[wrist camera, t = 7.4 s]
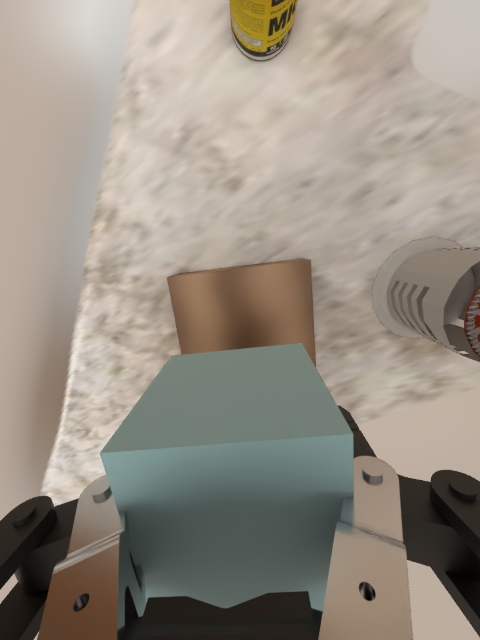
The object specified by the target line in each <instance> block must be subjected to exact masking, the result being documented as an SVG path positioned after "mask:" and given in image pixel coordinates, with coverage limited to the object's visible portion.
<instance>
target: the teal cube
mask: <svg viewBox="0 0 480 640" xmlns="http://www.w3.org/2000/svg"><path fill="white" fill-rule="evenodd" d="M100 455H101V458H102V462H103V465H104V468H105V471H106V475H107V478H108V481H109V484H110V488H111V491H112V494H113V497H114V501H115V504H116V507H117V510H118V511H121V510H125V513H126V516H127V520H128V523H129V549H130V552H131V556H132V559H133V562H134V565H141V566H142V570H143V573H144V577H145V593H146V603H147V600H148V597H172V596H188V597H191V598H194V599H197V600H200V601H203V602H206V603H209V604H212V605H215V606H218V607H221V608H230V607H232V606H235V605H238V604H240V603H243V602H245V601H248V600H250V599H253V598H256V597H258V596H261V595H263V594H266V593H274V592H299V591H308V592H309V598H310V604H311V608H313V609H316V610H320V611H322V612H323V607H324V600H325V594H326V588H327V581H328V575H329V568H330V562H331V556H332V549H333V543H334V536H335V530H336V525H337V521H338V520H339V521H340V518H341V511H342V505H343V498H344V497H350V496H354V460H353V433H352V431H351V429H350V427H349V426H348V424H347V422H346V420H345V418H344V417H343V415H342V413H341V411H340V410H339V408H338V406H337V404H336V403H335V401H334V399H333V397H332V395H331V394H330V392H329V390H328V388H327V387H326V385H325V383H324V381H323V380H322V378H321V376H320V374H319V373H318V371H317V369H316V367H315V365H314V364H313V362H312V360H311V358H310V357H309V355H308V353H307V351H306V350H305V348H304V346H303V344H302V343H295V344H285V345H275V346H265V347H255V348H245V349H235V350H225V351H215V352H205V353H195V354H185V355H175V356H171V357H170V359H169V360H168V362H167V363H166V364H165V366H164V367H163V368H162V370H161V371H160V372H159V374H158V375H157V376H156V378H155V379H154V381H153V382H152V383H151V385H150V386H149V387H148V389H147V390H146V391H145V393H144V394H143V395H142V397H141V398H140V400H139V401H138V402H137V404H136V405H135V406H134V408H133V409H132V410H131V412H130V413H129V414H128V416H127V417H126V419H125V420H124V421H123V423H122V424H121V425H120V427H119V428H118V429H117V431H116V432H115V433H114V435H113V436H112V437H111V439H110V440H109V442H108V443H107V444H106V446H105V447H104V448H103V450H102V451H101V452H100Z"/></svg>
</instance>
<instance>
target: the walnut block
mask: <svg viewBox="0 0 480 640" xmlns="http://www.w3.org/2000/svg"><path fill="white" fill-rule="evenodd" d="M167 280H168V285H169V290H170V296H171V301H172V306H173V311H174V316H175V322H176V327H177V332H178V337H179V342H180V348H181V353H182V355H185V354H195V353H205V352H215V351H225V350H235V349H245V348H255V347H265V346H275V345H285V344H295V343H302V344H303V346H304V348H305V350H306V351H307V353H308V355H309V357H310V358H311V360H312V362H313V364H314V365H315V367H316V359H315V339H314V319H313V299H312V279H311V260H308V259H294V260H286V261H277V262H269V263H261V264H253V265H244V266H236V267H228V268H220V269H212V270H203V271H195V272H187V273H179V274H175V275H172V276H169V277H167Z"/></svg>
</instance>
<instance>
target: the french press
mask: <svg viewBox="0 0 480 640" xmlns="http://www.w3.org/2000/svg"><path fill="white" fill-rule="evenodd" d="M465 249H466V250H465ZM477 249H480V248H462V247H461V246H460V245H459V244H458V243H456V242H455V241H451V240H447V239H443V238H439V237H430V238H425V239H419V240H413V241H412V242H410V243H408V244H406V245H405V246H403V247H401V248H400V249H398V250H396V251H395V252H393V253H392V255H391V256H390V257H389V258H388V259H387V260H386V262H385V263H384V264H383V265H382V266H381V268H380V269H379V271H378V274H377V277H376V279H375V282H374V285H373V288H372V298H373V309H374V311H375V313H376V315H377V317H378V319H379V321H380V322H381V324H382V325H383V326H385V327H386V328H387V329H389V330H390V331H391V332H393V333H394V334H395V335H400V336H404V337H409V338H413V339H415V338H422V337H426V338H427V339H429V340H431V341H434V342H436V343H438V344H440V345H442V346H443V345H445V346H444V347H446V348H449V349H450V350H452V351H454V352H456V353H458V354H460V355H462V356H465V357H468V358H470V359H473V360H476V361H479V362H480V250H477ZM459 319H462V320H464V328H461V327H458V326H456V325H454V324H455V323H456V322H457V321H458V320H459ZM432 336H433V337H432ZM437 340H438V341H440V342H438V341H437ZM450 345H452V346H454V347H456V348H453V347H451V346H450ZM457 351H465V352H467V353H469V354H462V353H459V352H457Z"/></svg>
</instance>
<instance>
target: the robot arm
mask: <svg viewBox="0 0 480 640" xmlns="http://www.w3.org/2000/svg"><path fill="white" fill-rule="evenodd" d="M338 408H339V410H340V411H341V413H342V415H343V417H344V418H345V420H346V422H347V424H348V426H349V427H350V429H351V431H352V433H353V460H354V496H350V497H344V498H343V505H342V511H341V518H340V521H339V520H338V521H337V525H336V530H335V536H334V543H333V549H332V556H331V562H330V568H329V575H328V581H327V588H326V594H325V600H324V607H323V612H322V611H320V610H316V609H313V608H311V604H310V598H309V592H308V591H299V592H274V593H266V594H263V595H261V596H258V597H256V598H253V599H250V600H248V601H245V602H243V603H240V604H238V605H235V606H232V607H230V608H221V607H218V606H215V605H212V604H209V603H206V602H203V601H200V600H197V599H194V598H191V597H188V596H172V597H148V600H147V603H146V593H145V577H144V573H143V570H142V566H141V565H134V562H133V559H132V556H131V552H130V549H129V523H128V520H127V516H126V513H125V510H121V511H118V510H117V507H116V504H115V501H114V497H113V494H112V491H111V488H110V484H109V481H108V478H107V475H105V476H102V477H100V478H98V479H96V480H95V481H93V482H92V483H91V484H89V485H88V486H87V487H86V488H85V489H84V491H83V492H82V493H81V495H80V497H79V498H78V499H76V500H73V501H70V502H67V503H64V504H61V505H58V506H55V507H54V505H53V502H52V500H51V498H50V497H48V496H38V497H35V498H32V499H29V500H27V501H25V502H23V503H22V504H20V505H19V506H17V507H16V508H14V509H13V510H12V511H10V512H9V513H8V514H7V515H6V516H5V517H4V518H3V519H2V520H1V521H0V589H1V588H2V587H3V586H4V585H5V583H6V582H7V581H8V580H9V579H10V577H11V576H12V575H13V574H15V576H16V578H17V580H18V583H17V584H16V585H15V586H14V588H13V589H12V590H11V591H10V593H9V594H8V595H7V596H6V598H5V599H4V600H3V601H2V603H1V604H0V640H34V638H35V636H36V635H37V633H38V632H39V634H38V638H37V640H413V633H412V620H411V608H410V594H409V581H408V568H407V560H410V561H413V562H416V563H420V564H423V565H426V566H430V567H431V568H432V570H433V571H434V573H435V574H436V575H437V577H438V578H439V580H440V581H441V583H442V584H443V585H444V587H445V588H446V590H447V591H448V592H449V594H450V595H451V597H452V598H453V600H454V601H455V602H456V604H457V605H458V607H459V608H460V609H461V611H462V612H463V614H464V615H465V617H466V618H467V619H468V621H469V622H470V624H471V625H472V627H473V628H474V630H475V631H476V632H477V634H478V635H479V637H480V481H478V480H476V479H475V478H473V477H471V476H469V475H466V474H464V473H461V472H457V471H452V470H440V471H437V472H435V473H434V474H433V475H432V477H431V482H428V481H423V480H417V479H412V478H408V477H404V476H401V475H398V474H397V473H396V471H395V470H394V469H393V468H392V467H391V466H390V465H389V464H388V463H386V462H385V461H383V460H381V459H378V458H377V457H376V455H375V453H374V452H373V450H372V449H371V447H370V445H369V444H368V442H367V441H366V439H365V437H364V436H363V434H362V432H361V431H360V430H359V427H358V426H357V424H356V423H355V421H354V419H353V418H352V416H351V414H350V413H349V412H348V411H347V410H345V409H344V408H342V407H341V406H338Z"/></svg>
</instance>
